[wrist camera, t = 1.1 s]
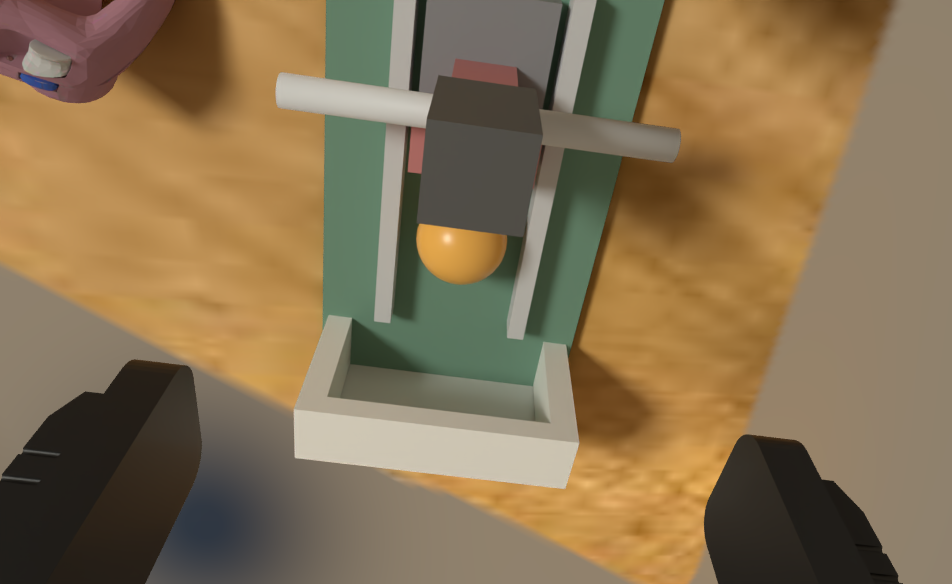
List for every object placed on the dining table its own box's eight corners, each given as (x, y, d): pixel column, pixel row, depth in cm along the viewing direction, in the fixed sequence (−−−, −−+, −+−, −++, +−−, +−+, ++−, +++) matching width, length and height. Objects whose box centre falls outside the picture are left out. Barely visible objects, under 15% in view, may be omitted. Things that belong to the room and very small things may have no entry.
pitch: (330, -84, 25) (318, -79, 24) (668, -31, 26) (680, -24, 24) (324, 366, 37) (316, 390, 36) (555, 394, 38) (558, 419, 36)
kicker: (311, -39, 25) (202, 25, 16) (675, 16, 26) (773, 108, 17) (311, 127, 29) (222, 258, 20) (631, 172, 29) (692, 319, 20)
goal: (328, 314, 35) (294, 409, 29) (566, 344, 35) (579, 443, 29) (327, 372, 37) (295, 471, 31) (551, 399, 37) (561, 501, 31)
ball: (425, 173, 30) (415, 213, 27) (513, 185, 30) (515, 226, 27) (417, 250, 32) (407, 296, 29) (499, 260, 32) (499, 307, 29)
